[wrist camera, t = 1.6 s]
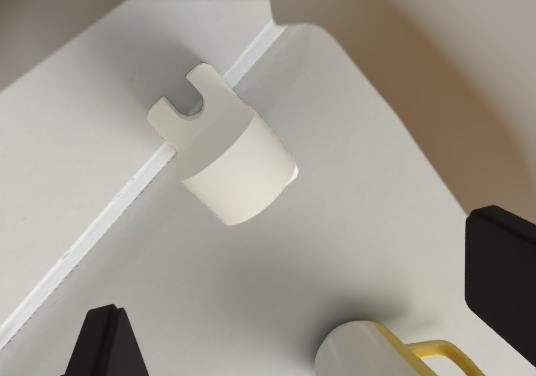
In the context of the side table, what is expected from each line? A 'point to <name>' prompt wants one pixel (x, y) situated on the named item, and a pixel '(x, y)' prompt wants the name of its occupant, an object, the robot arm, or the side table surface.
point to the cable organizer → (224, 150)
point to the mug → (381, 353)
